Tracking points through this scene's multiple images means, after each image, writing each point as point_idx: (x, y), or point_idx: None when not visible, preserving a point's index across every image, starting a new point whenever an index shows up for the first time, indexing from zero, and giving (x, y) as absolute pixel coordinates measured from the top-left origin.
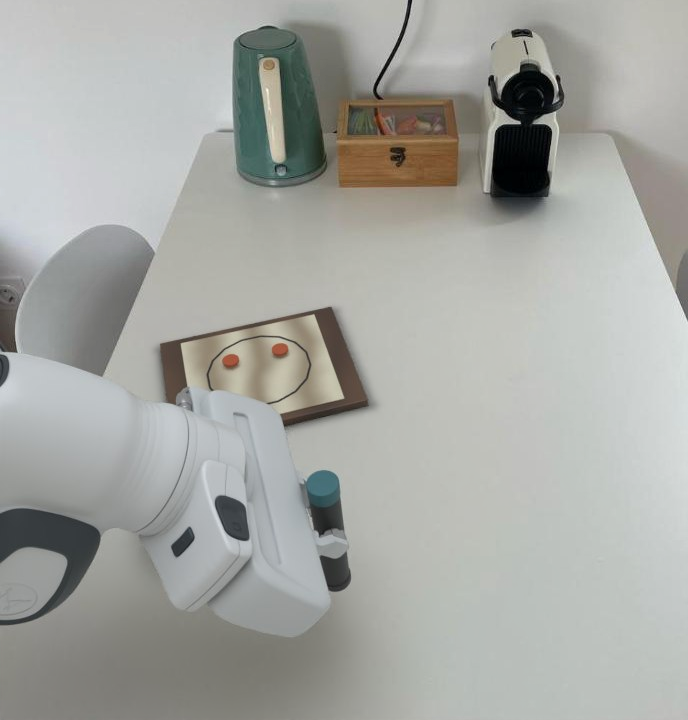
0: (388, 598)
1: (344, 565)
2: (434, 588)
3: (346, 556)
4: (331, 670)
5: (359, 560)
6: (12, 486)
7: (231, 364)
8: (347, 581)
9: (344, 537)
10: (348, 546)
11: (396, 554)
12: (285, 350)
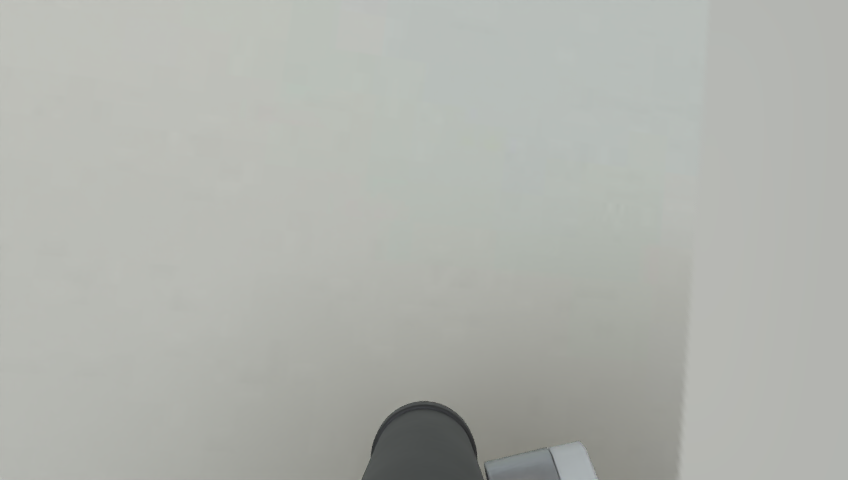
0: (385, 291)
1: (459, 435)
2: (370, 169)
3: (442, 429)
4: None
5: (258, 362)
6: None
7: None
8: (457, 416)
9: (539, 469)
10: (582, 446)
11: (253, 259)
12: None
